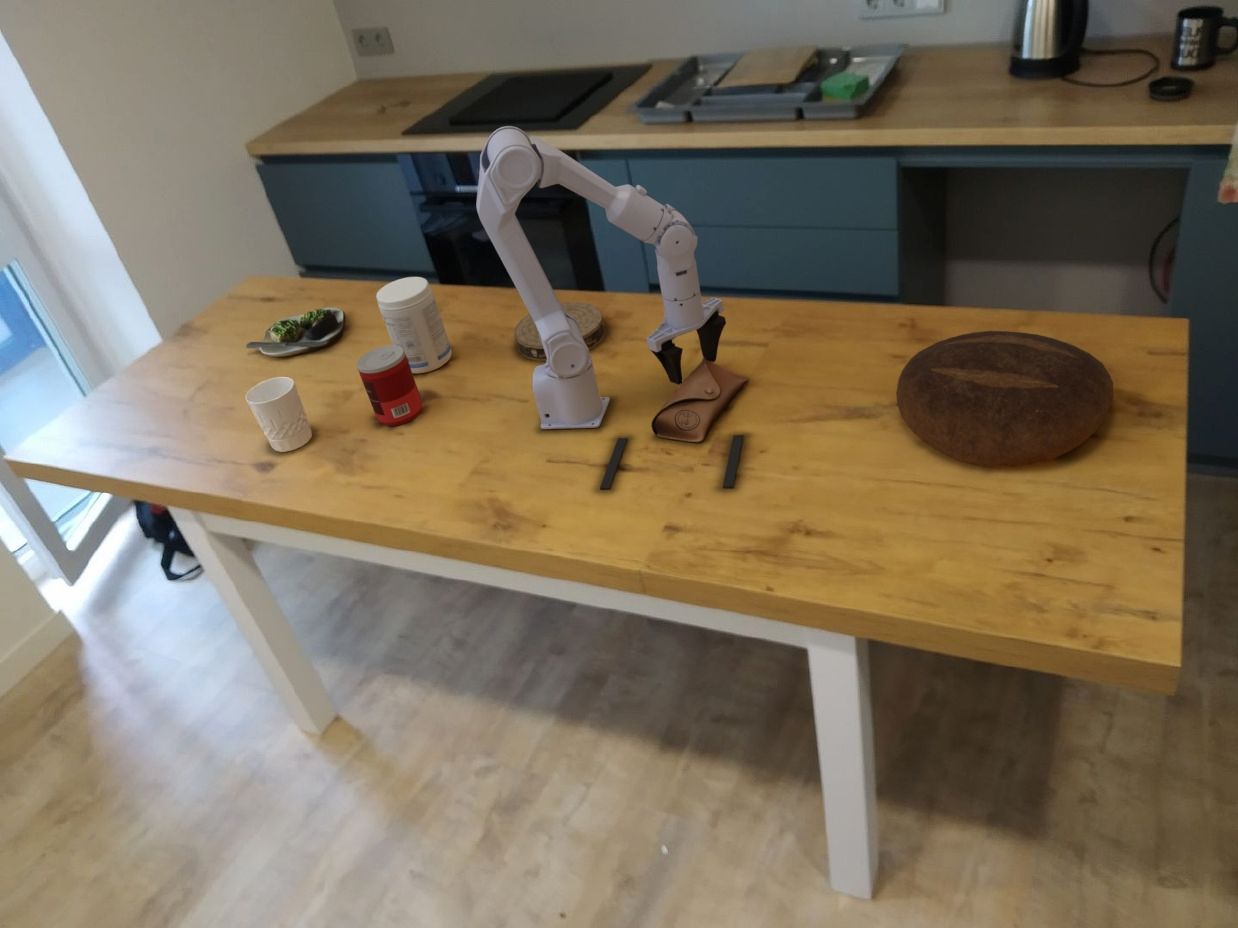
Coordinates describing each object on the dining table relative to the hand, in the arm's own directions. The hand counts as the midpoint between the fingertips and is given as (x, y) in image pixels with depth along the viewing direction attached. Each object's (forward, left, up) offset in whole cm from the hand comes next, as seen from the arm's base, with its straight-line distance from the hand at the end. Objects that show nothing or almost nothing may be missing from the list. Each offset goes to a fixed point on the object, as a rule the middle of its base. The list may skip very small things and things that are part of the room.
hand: (693, 371), depth 154 cm
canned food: (-49, -6, -3) cm, 49 cm away
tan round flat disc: (-27, +17, -3) cm, 32 cm away
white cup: (-66, -13, -3) cm, 67 cm away
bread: (+44, -10, -3) cm, 45 cm away
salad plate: (-82, +23, -3) cm, 85 cm away
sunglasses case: (+2, -7, -3) cm, 8 cm away
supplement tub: (-51, +11, -3) cm, 52 cm away
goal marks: (0, -21, -2) cm, 21 cm away
